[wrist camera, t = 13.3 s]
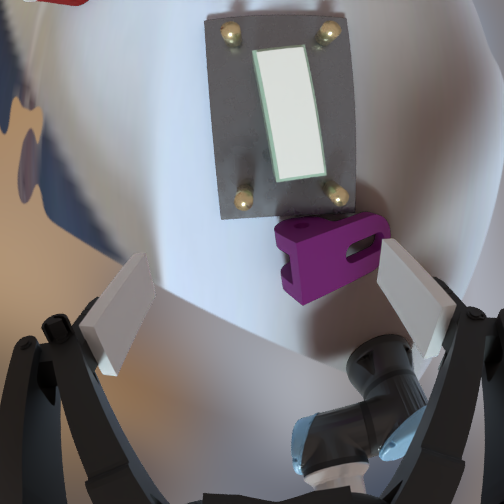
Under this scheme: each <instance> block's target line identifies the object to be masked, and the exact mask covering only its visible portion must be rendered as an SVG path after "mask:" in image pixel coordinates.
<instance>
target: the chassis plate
mask: <svg viewBox="0 0 504 504" xmlns="http://www.w3.org/2000/svg"><path fill="white" fill-rule="evenodd" d="M204 25H205V42H206V57H207V71H208V85H209V98H210V110H211V122H212V133H213V144H214V155H215V165H216V176H217V185H218V195H219V205H220V214H221V220H224V219H239V218H255V217H272V216H290V215H311V214H336V213H355V193H356V127H355V102H354V86H353V73H352V62H351V52H350V43H349V34H348V27H347V19H346V18H337V17H326V16H309V15H260V16H243V17H231V18H221V19H213V20H206V21H204ZM293 45H305V48H306V53H307V57H308V62H309V67H310V72H311V77H312V82H313V88H314V93H315V99H316V104H317V110H318V116H319V123H320V129H321V136H322V143H323V150H324V157H325V165H326V173H327V175H325V176H318V177H310V178H303V179H296V180H290V181H283V182H276V179H275V176H274V174H273V169H272V163H271V157H270V151H269V146H268V140H267V135H266V129H265V123H264V118H263V113H262V107H261V102H260V97H259V92H258V87H257V82H256V77H255V72H254V67H253V58H252V51H253V50H259V49H266V48H274V47H283V46H293Z"/></svg>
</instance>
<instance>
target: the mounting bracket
mask: <svg viewBox="0 0 504 504" xmlns="http://www.w3.org/2000/svg"><path fill="white" fill-rule="evenodd" d="M274 231H275V238H276V244H277V247H278V248H279V249H280V250H282V251H283V252H285V253H287V254H288V255H290V262H288V263H287V264H285V265H284V266H283V267H282V269H281V279H282V286H283V289H284V290H285V291H286V292H287V293H288V294H289V295H290V296H292V297H293V298H294V299H295V300H296V301H298V302H299V303H300V304H301V305H305V304H307V303H309V302H312V301H314V300H316V299H318V298H320V297H322V296H324V295H326V294H328V293H330V292H332V291H334V290H336V289H339V288H341V287H343V286H345V285H347V284H349V283H351V282H353V281H354V280H356V279H358V278H360V277H362V276H364V275H366V274H368V273H370V272H372V271H373V270H375V269H376V268H377V267H378V266H379V263H380V255H381V246H382V239H390V238H391V234H390V227H389V224H388V222H387V221H386V219H385V218H384V217H382V216H380V215H377V214H374V213H371V212H362V213H359V214H356V215H353V216H350V217H348V218H345V219H342V220H339V221H329V220H327V219H324V218H321V217H315V216H304V217H297V218H291V219H287V220H284V221H282V222H280V223H278V224H277V225H276V226H275V228H274ZM373 234H375V240H374V242H373V244H372V245H371V246H370V247H368V248H366V249H364V250H362V251H360V252H357V253H355V254H353V255H351V256H349V257H346V252H347V249H348V248H349V246H350V245H351V244H353V243H355V242H357V241H359V240H362V239H364V238H366V237H369V236H371V235H373Z"/></svg>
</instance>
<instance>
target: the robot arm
mask: <svg viewBox="0 0 504 504" xmlns="http://www.w3.org/2000/svg"><path fill="white" fill-rule="evenodd" d="M377 283H378V285H379V286H380V288H381V289H382V291H383V293H384V294H385V296H386V297H387V299H388V300H389V302H390V303H391V305H392V307H393V308H394V310H395V311H396V313H397V315H398V316H399V318H400V320H401V321H402V323H403V324H404V326H405V328H406V329H407V331H408V333H409V335H410V336H411V338H412V340H413V341H414V343H415V345H416V347H417V348H418V350H419V352H420V354H421V355H422V357H423V359H427V358H431V357H435V356H438V354H439V351H440V349H441V346H443V348H444V349H445V350H446V352H445V354H444V357H443V359H442V361H441V363H440V366H439V368H438V370H439V372H438V376H437V379H436V382H435V384H434V387H433V391H432V393H431V396H430V398H429V401H428V400H427V398H426V396H425V394H424V392H423V390H422V387H421V386H420V383H419V381H418V379H417V377H416V375H415V373H414V367H413V356H412V350H411V348H410V346H409V344H408V342H407V341H406V340H405V339H404V338H403V337H401V336H398V335H384V336H380V337H377V338H374V339H372V340H370V341H368V342H366V343H364V344H363V345H362V346H360V347H359V348H358V349H357V350H356V351H355V352H354V353H353V354H352V355H351V357H350V358H349V360H348V363H347V367H346V371H347V374H348V378H349V380H350V382H351V383H352V385H353V386H354V387H355V388H356V389H357V391H358V392H359V393H360V394H361V395H362V396H363V398H364V401H362V402H359V403H356V404H352V405H349V406H345V407H342V408H338V409H335V410H330V411H326V412H322V413H316V414H314V415H312V416H309V417H304V418H301V419H300V420H298V421H297V422H296V424H295V426H294V428H293V433H292V442H291V451H292V457H293V467H294V470H295V472H296V473H297V474H301V475H304V481H305V482H306V483H308V484H310V485H311V486H313V487H314V491H313V492H310V493H307V494H304V495H301V496H298V497H294V498H291V499H287V500H284V501H280V502H272V501H267V500H261V499H256V498H251V497H247V496H242V495H227V494H207V493H203V500H199V501H194V502H190V503H188V504H451V502H452V500H453V497H454V495H455V493H456V490H457V488H458V485H459V483H460V480H461V477H462V474H463V472H464V468H465V461H463V460H462V455H463V451H464V448H465V445H466V442H467V438H468V435H469V431H470V427H471V423H472V419H473V415H474V411H475V406H476V401H477V397H478V392H479V386H480V380H481V378H482V388H483V400H484V416H485V458H484V475H483V486H482V494H481V504H504V309H501V310H500V312H499V314H498V317H497V318H487V317H486V315H485V313H484V312H483V311H481V310H480V309H478V308H475V307H471V306H469V307H466V306H465V304H464V303H463V302H462V301H461V300H460V299H459V298H458V297H457V296H456V294H455V293H453V291H452V290H451V289H449V287H448V286H447V285H446V284H445V283H444V282H443V281H442V280H440V279H438V278H437V277H432V276H431V275H430V274H429V273H428V272H427V271H426V270H425V269H424V268H423V267H422V266H421V265H420V264H419V263H418V262H417V261H416V260H415V259H414V258H413V257H412V256H411V255H410V254H409V253H408V252H407V251H406V250H405V249H404V248H403V247H402V246H401V245H400V244H399V243H398V242H397V241H396V240H395V239H382V246H381V255H380V263H379V270H378V277H377ZM155 296H156V292H155V288H154V284H153V280H152V276H151V272H150V268H149V264H148V260H147V255H146V253H135V254H133V255H132V256H131V258H130V259H129V260H128V261H127V263H126V264H125V265H124V266H123V268H122V269H121V270H120V271H119V273H118V274H117V275H116V276H115V278H114V279H113V280H112V282H111V283H110V284H109V286H108V287H107V288H106V289H105V291H104V292H103V293H102V295H101V296H100V297H96V298H95V299H94V300H92V301H91V302H89V304H88V305H87V306H86V308H85V310H83V311H82V313H81V315H79V317H78V318H77V320H76V321H75V322H74V324H73V325H72V326H71V324H70V321H69V319H68V317H67V316H66V315H65V314H56V315H53V316H51V317H49V318H48V319H46V320H45V321H44V323H43V324H42V327H41V328H42V330H43V332H44V334H45V336H46V338H47V340H48V342H49V343H44V344H39V343H38V341H37V339H36V338H35V337H34V336H26V337H23V338H22V339H20V340H19V341H18V342H17V343H16V345H15V347H14V350H13V353H12V357H11V360H10V364H9V368H8V372H7V376H6V380H5V385H4V390H3V394H2V399H1V404H0V504H67V499H66V491H65V484H64V475H63V465H62V451H61V423H60V407H61V401H62V404H63V408H64V411H65V415H66V418H67V421H68V425H69V428H70V431H71V434H72V437H73V440H74V443H75V446H76V448H77V451H78V454H79V456H80V459H81V461H82V464H83V466H84V469H85V471H86V474H87V476H88V481H86V482H85V486H86V489H87V492H88V494H89V496H90V498H91V500H92V503H93V504H170V503H169V502H168V501H167V500H166V499H165V498H164V496H163V495H162V494H161V493H160V491H159V490H158V488H157V487H156V485H155V484H154V483H153V481H152V479H151V478H150V477H149V475H148V473H147V472H146V470H145V468H144V467H143V465H142V464H141V462H140V460H139V459H138V457H137V455H136V453H135V452H134V450H133V448H132V447H131V445H130V443H129V441H128V439H127V437H126V436H125V434H124V432H123V430H122V428H121V426H120V424H119V422H118V420H117V418H116V416H115V414H114V412H113V410H112V408H111V406H110V404H109V402H108V400H107V397H106V395H105V393H104V391H103V389H102V386H101V384H100V382H99V379H98V377H97V375H96V373H95V369H96V367H97V365H98V366H99V368H100V370H101V372H102V374H105V375H112V376H117V375H118V373H119V371H120V369H121V366H122V364H123V361H124V360H125V357H126V355H127V353H128V351H129V349H130V347H131V344H132V342H133V341H134V338H135V336H136V334H137V332H138V330H139V328H140V326H141V324H142V322H143V320H144V318H145V316H146V314H147V312H148V310H149V308H150V306H151V304H152V302H153V300H154V298H155ZM377 455H379V457H380V458H381V459H382V460H383V461H390V460H396V459H398V458H401V457H403V456H404V458H403V460H402V461H401V464H400V465H399V467H398V469H397V471H396V473H395V475H394V476H393V478H392V480H391V481H390V483H389V484H388V486H387V487H386V488H385V490H384V491H383V493H382V494H381V496H380V497H379V498H378V497H375V496H372V495H368V494H366V490H365V485H364V480H363V475H364V473H365V472H366V471H367V469H368V468H369V462H368V458H371V457H374V456H377Z"/></svg>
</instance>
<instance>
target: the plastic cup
mask: <svg viewBox="0 0 504 504" xmlns="http://www.w3.org/2000/svg"><path fill="white" fill-rule="evenodd" d="M23 1H24V2H34V1H40V2H41V1H43V2H50V3H56V4H64V5H70V6H79V5H82V4H84V3H85V2H87V1H88V0H23Z"/></svg>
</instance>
